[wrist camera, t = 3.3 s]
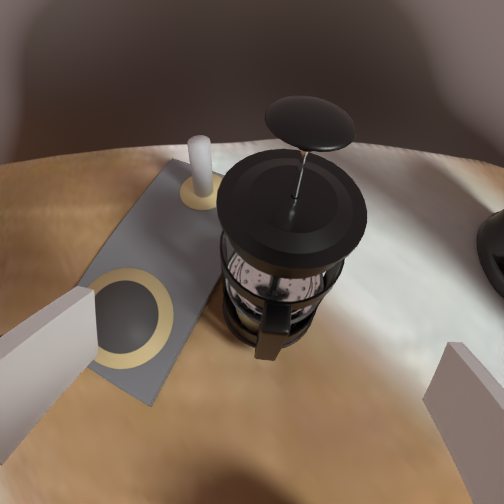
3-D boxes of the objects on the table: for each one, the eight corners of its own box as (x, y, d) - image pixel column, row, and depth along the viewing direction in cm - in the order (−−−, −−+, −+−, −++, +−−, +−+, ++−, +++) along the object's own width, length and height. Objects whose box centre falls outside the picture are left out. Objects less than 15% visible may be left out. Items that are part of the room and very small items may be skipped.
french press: (231, 255, 36) (228, 55, 16) (315, 265, 36) (387, 80, 16) (213, 360, 30) (166, 213, 10) (309, 371, 30) (440, 249, 10)
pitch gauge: (266, 194, 41) (273, 141, 33) (151, 406, 27) (120, 398, 20) (172, 162, 43) (164, 111, 35) (49, 337, 30) (4, 308, 22)
